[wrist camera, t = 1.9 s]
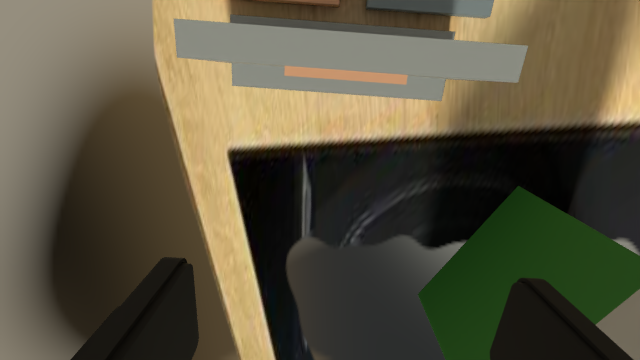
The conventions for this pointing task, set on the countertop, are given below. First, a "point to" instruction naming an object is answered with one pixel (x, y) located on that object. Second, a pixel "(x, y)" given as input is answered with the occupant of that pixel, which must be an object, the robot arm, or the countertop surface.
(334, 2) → the tile terracotta
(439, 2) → the mat bluegrey
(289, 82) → the upright grey panel
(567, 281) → the hardback book
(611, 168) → the countertop surface
